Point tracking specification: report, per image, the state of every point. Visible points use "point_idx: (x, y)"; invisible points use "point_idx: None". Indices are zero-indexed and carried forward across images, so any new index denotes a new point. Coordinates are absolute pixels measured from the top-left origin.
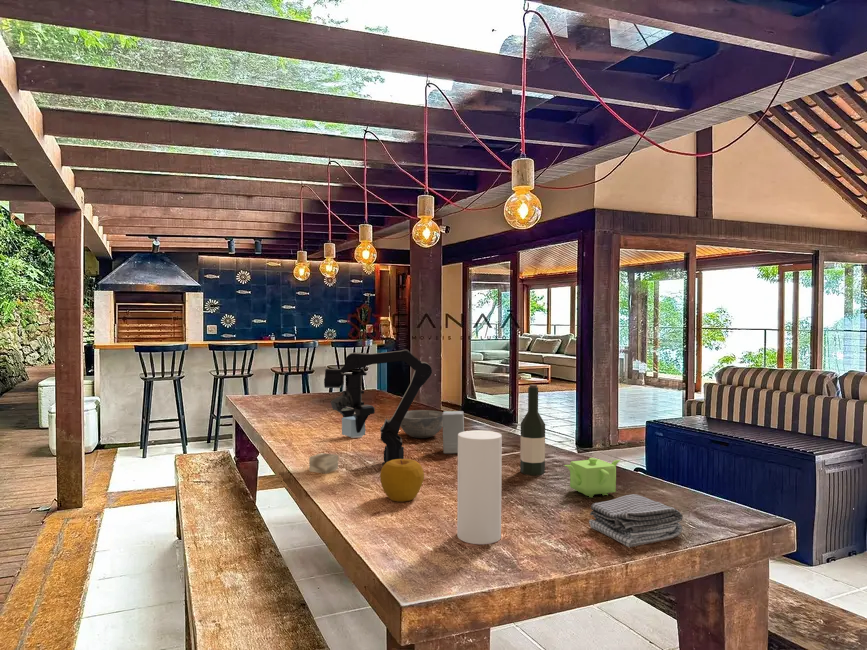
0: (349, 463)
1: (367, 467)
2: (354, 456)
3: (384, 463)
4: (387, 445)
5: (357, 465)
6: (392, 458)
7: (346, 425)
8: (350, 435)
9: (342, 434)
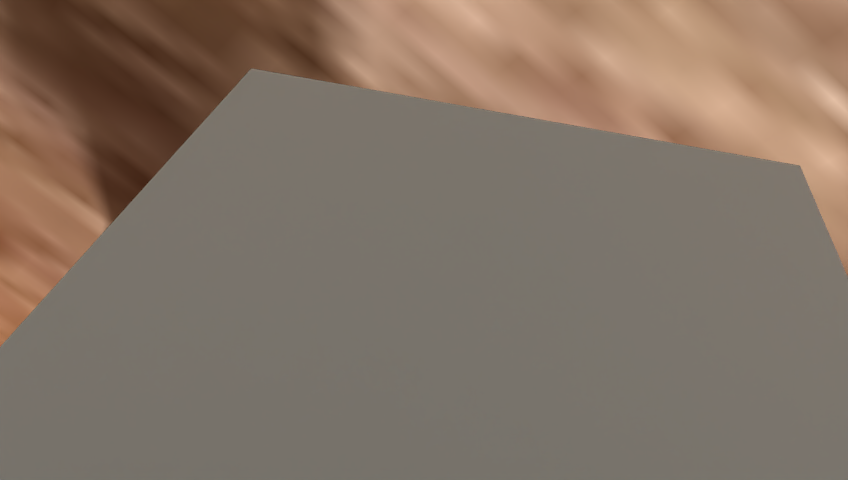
0: (622, 30)
1: (276, 46)
2: None
3: None
4: None
5: (448, 30)
6: None
7: (459, 354)
8: (251, 92)
9: (757, 161)
